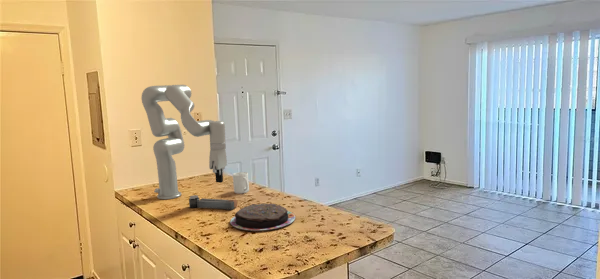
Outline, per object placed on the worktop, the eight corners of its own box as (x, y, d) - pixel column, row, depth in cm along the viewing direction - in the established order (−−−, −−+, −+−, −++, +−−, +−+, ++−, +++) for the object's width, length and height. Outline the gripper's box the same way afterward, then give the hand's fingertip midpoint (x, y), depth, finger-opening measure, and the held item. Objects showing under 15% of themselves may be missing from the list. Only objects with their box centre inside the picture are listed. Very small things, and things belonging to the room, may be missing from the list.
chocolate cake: (307, 215, 179) (306, 201, 178) (271, 237, 155) (270, 221, 154) (256, 208, 193) (255, 195, 192) (216, 227, 170) (215, 212, 169)
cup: (245, 188, 230) (243, 171, 228) (254, 193, 220) (253, 174, 218) (231, 191, 225) (230, 173, 224) (240, 195, 215) (239, 177, 214)
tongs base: (186, 208, 198) (186, 200, 197) (193, 204, 203) (192, 197, 203) (231, 210, 191) (231, 202, 190) (237, 206, 196) (236, 198, 195)
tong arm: (188, 206, 199) (188, 197, 198) (194, 203, 204) (194, 194, 203) (232, 209, 191) (231, 199, 190) (237, 206, 196) (236, 196, 195)
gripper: (218, 143, 210) (219, 177, 213) (203, 148, 196) (205, 185, 198) (231, 143, 208) (232, 178, 210) (217, 149, 193) (219, 186, 196)
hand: (219, 181), depth 204 cm, fingers closed
